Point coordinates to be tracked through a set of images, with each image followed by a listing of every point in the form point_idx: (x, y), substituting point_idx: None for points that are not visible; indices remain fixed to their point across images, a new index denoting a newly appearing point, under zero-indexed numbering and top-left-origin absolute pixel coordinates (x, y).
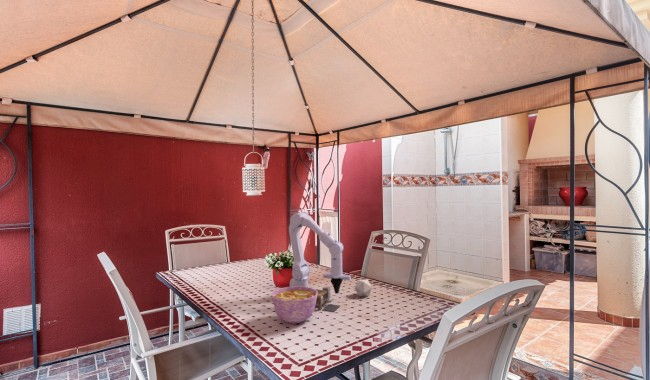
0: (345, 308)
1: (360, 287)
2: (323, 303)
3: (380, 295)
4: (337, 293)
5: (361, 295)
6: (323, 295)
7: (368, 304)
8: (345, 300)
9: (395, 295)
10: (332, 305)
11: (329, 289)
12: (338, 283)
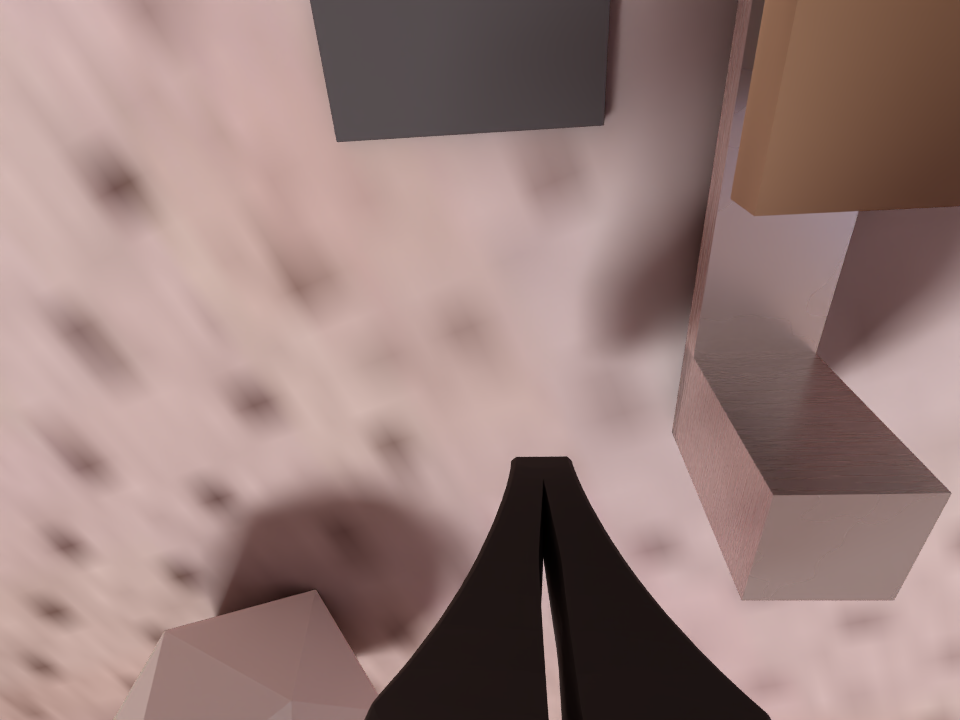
0: (174, 55)
1: (206, 715)
2: (726, 85)
3: (126, 664)
4: (512, 461)
5: (265, 603)
6: (818, 377)
7: (8, 396)
8: (401, 428)
9: (7, 692)
10: (487, 70)
11: (733, 529)
12: (430, 670)
